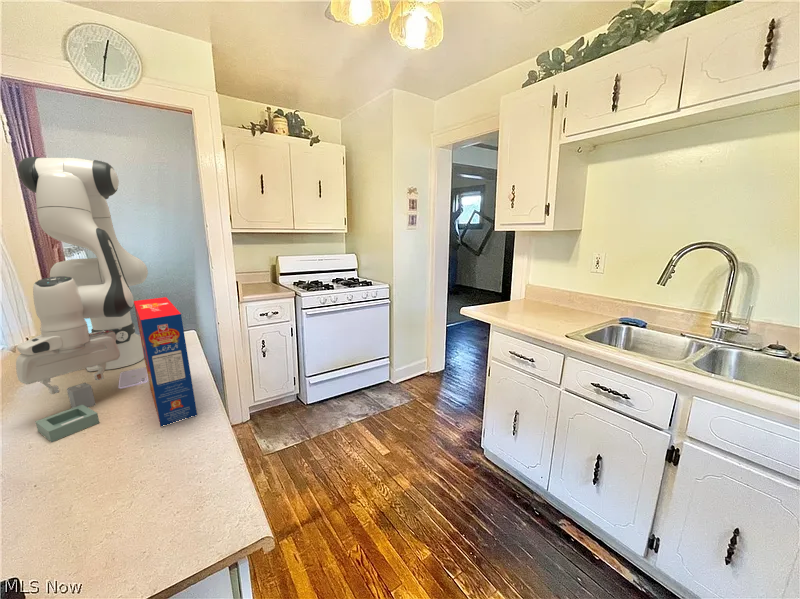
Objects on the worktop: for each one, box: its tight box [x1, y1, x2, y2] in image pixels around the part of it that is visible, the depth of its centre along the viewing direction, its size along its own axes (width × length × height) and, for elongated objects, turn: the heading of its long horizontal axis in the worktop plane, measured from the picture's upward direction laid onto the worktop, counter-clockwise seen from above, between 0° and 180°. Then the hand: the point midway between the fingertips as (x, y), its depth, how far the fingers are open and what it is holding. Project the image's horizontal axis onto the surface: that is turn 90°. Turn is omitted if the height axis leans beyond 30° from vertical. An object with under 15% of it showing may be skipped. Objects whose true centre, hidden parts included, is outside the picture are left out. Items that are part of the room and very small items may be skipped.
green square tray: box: [35, 405, 100, 443], centre depth 84 cm, size 9×9×3 cm
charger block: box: [66, 382, 96, 409], centre depth 94 cm, size 4×4×6 cm
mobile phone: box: [118, 366, 149, 389], centre depth 112 cm, size 8×1×15 cm
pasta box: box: [133, 296, 198, 427], centre depth 94 cm, size 28×8×28 cm, turn 41°
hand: (78, 385), depth 92 cm, fingers open, 8 cm apart
